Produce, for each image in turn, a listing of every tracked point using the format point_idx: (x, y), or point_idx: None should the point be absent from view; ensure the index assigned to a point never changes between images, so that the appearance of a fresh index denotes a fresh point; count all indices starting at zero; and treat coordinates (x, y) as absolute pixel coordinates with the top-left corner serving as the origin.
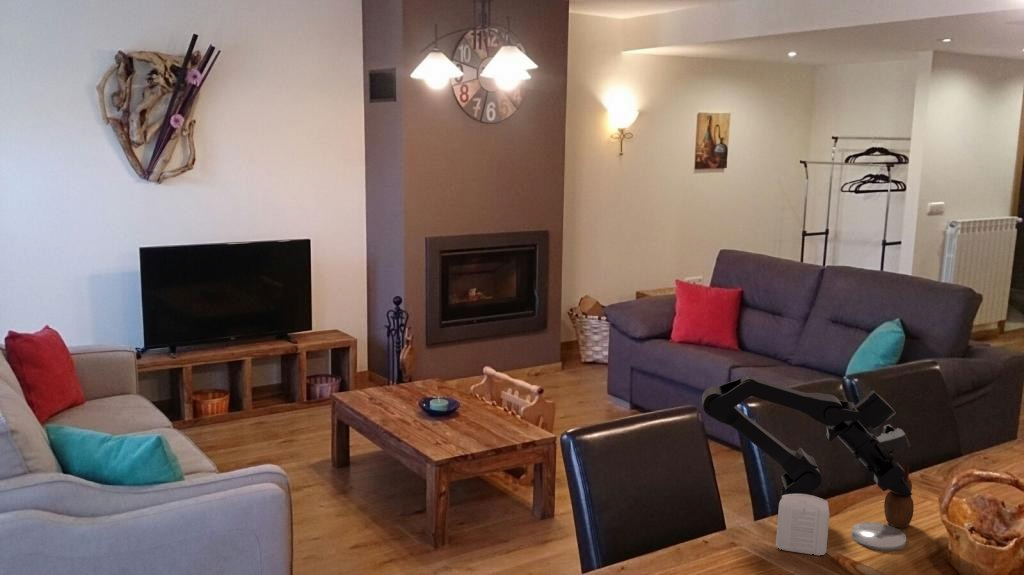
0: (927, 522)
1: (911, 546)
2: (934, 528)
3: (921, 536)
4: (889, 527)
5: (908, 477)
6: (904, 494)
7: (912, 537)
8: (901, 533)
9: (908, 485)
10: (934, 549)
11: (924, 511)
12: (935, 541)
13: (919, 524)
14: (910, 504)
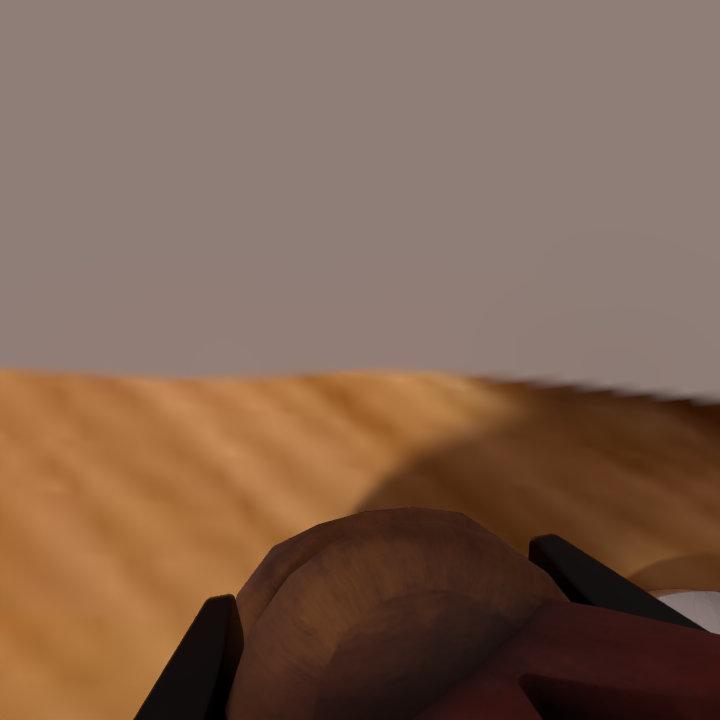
0: (260, 411)
1: (696, 553)
2: (345, 381)
3: (506, 473)
4: None
5: (593, 608)
6: None
7: (549, 532)
8: None
9: (558, 589)
10: (663, 419)
11: (69, 407)
12: (544, 399)
13: (311, 464)
14: (508, 545)
